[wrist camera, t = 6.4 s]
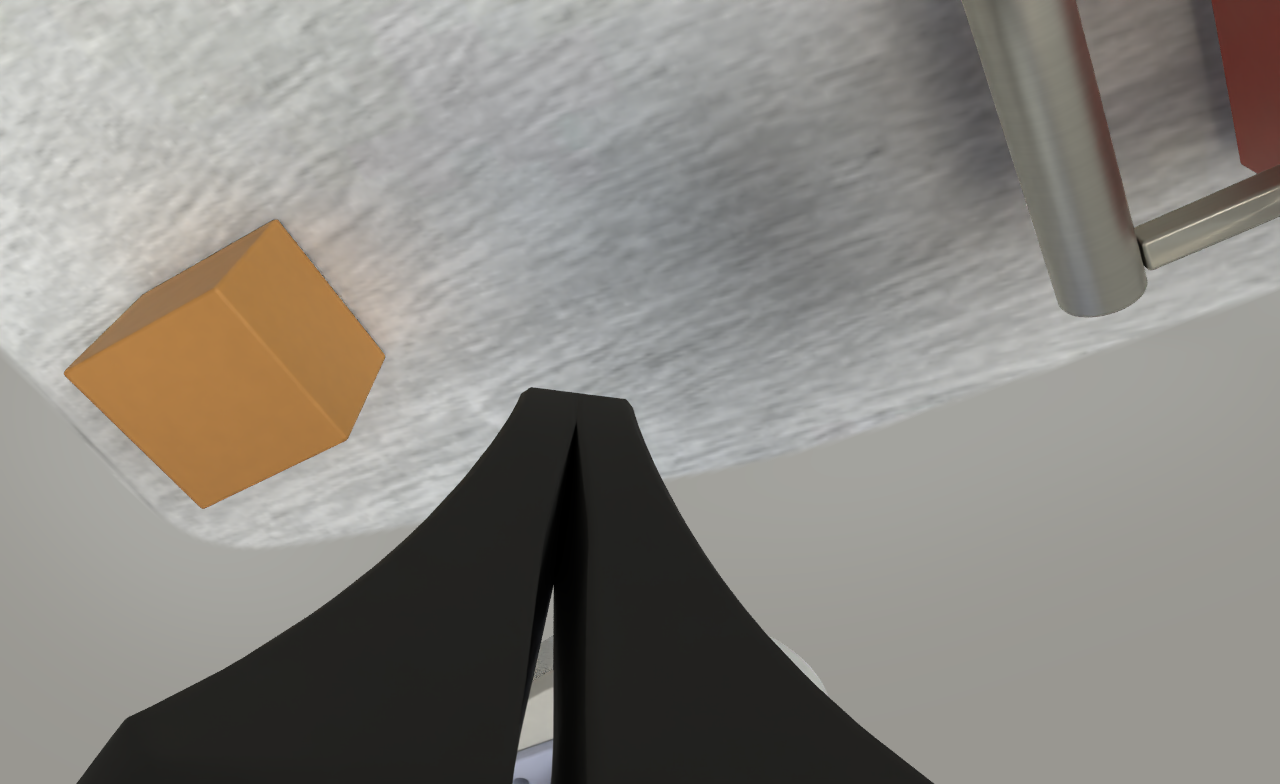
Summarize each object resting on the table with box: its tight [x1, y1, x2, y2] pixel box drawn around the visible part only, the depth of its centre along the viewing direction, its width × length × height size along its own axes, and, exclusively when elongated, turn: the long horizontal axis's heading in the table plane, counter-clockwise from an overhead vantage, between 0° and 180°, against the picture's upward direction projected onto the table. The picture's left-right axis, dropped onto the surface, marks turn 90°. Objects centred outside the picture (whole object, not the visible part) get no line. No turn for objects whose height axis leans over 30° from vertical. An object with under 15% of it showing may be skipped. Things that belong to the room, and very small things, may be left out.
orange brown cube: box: [64, 220, 385, 509], centre depth 20 cm, size 4×4×4 cm
